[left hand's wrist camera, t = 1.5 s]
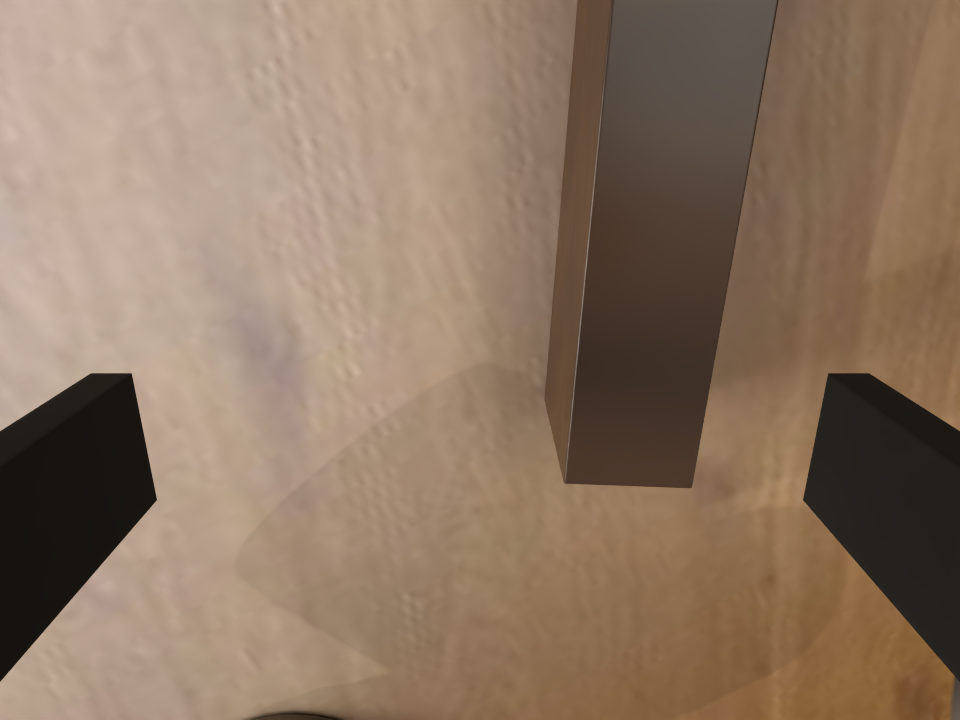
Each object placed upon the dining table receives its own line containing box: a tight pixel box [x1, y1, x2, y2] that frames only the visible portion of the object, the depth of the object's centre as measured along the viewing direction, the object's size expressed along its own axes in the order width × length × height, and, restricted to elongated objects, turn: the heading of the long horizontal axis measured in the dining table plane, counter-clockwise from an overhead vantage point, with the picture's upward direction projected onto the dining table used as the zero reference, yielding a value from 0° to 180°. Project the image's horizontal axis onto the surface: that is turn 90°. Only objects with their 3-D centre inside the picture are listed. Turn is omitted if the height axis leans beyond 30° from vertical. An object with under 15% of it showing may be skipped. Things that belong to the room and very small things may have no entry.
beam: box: [545, 0, 778, 488], centre depth 23 cm, size 30×5×8 cm, turn 178°
